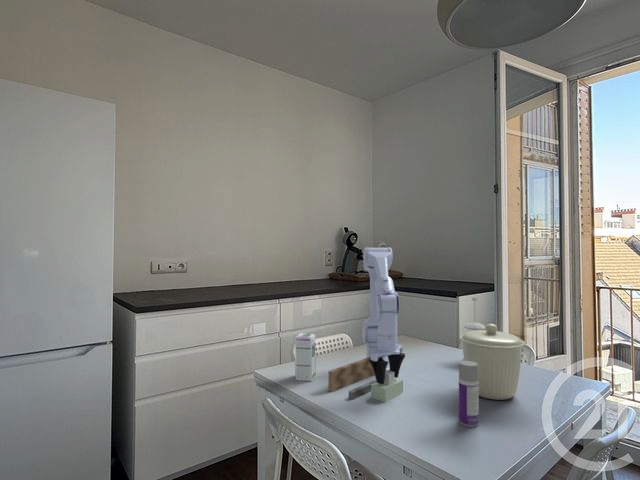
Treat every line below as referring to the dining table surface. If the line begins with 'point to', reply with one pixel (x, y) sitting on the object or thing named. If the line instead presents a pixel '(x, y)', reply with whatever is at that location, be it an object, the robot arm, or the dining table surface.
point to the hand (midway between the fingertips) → (387, 379)
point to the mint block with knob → (387, 388)
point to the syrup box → (305, 357)
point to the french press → (473, 324)
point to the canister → (494, 360)
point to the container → (468, 394)
